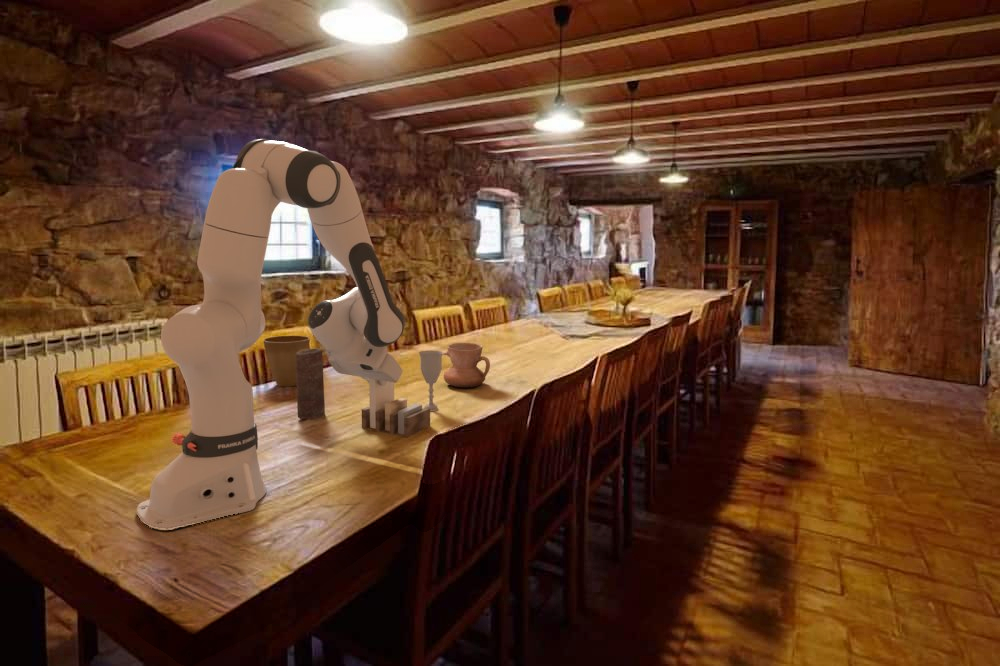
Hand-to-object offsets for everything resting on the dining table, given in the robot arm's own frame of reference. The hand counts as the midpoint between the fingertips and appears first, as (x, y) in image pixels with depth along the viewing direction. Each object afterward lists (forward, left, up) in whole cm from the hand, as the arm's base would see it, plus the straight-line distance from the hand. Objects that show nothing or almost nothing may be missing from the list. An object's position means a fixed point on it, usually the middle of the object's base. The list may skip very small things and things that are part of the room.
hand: (378, 382), depth 157 cm
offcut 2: (+4, -9, -12) cm, 15 cm away
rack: (+2, -4, -13) cm, 14 cm away
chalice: (+20, +1, -13) cm, 24 cm away
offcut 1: (+2, -4, -12) cm, 13 cm away
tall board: (+1, 0, -12) cm, 12 cm away
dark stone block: (-8, +20, -13) cm, 26 cm away
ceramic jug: (+50, +16, -13) cm, 54 cm away
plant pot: (+7, +60, -13) cm, 62 cm away
